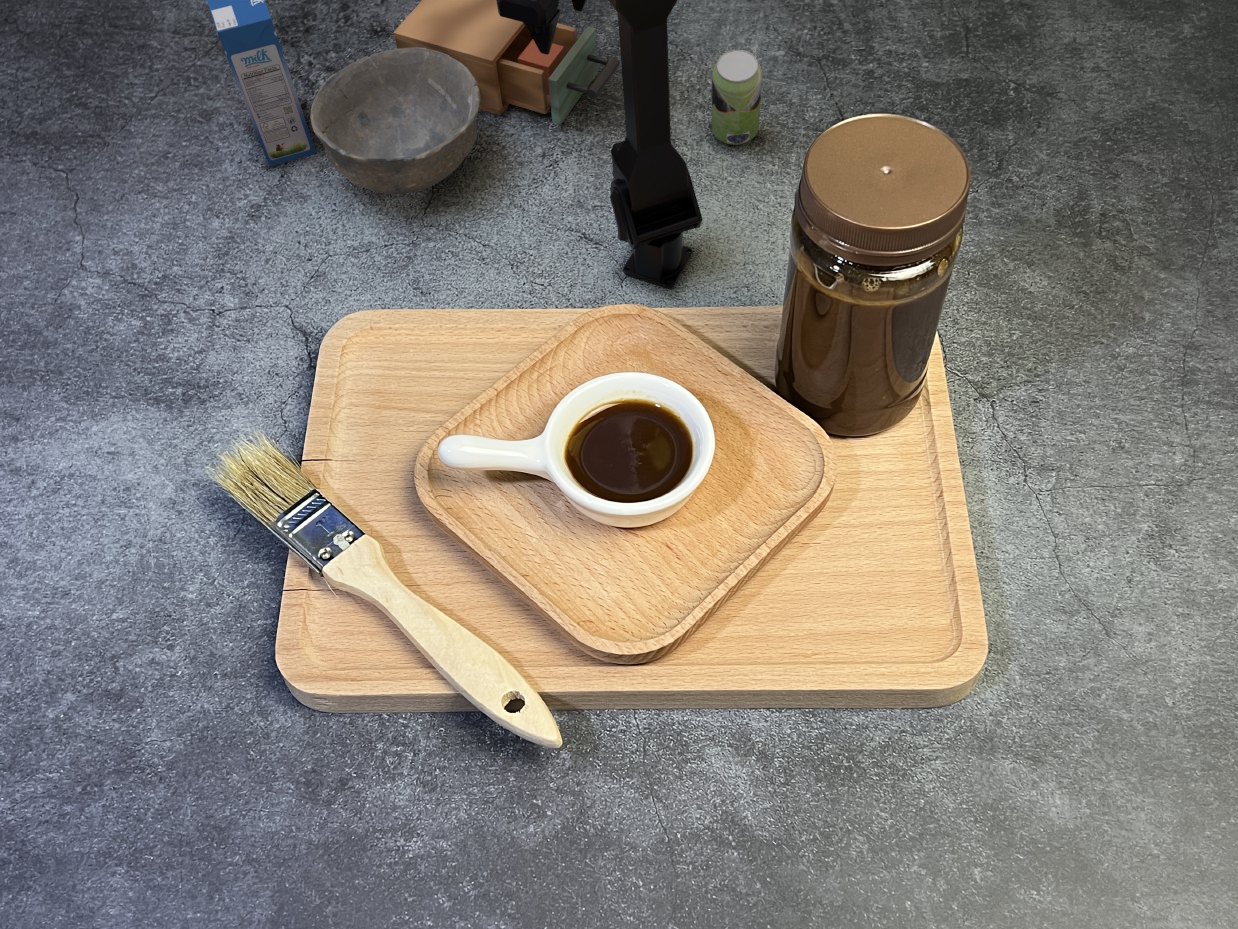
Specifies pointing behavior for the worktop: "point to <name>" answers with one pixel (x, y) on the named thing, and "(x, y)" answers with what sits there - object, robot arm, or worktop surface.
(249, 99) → the milk carton
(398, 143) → the bowl
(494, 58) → the cabinet
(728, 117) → the beverage can
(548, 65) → the block
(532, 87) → the drawer
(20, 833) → the worktop surface
